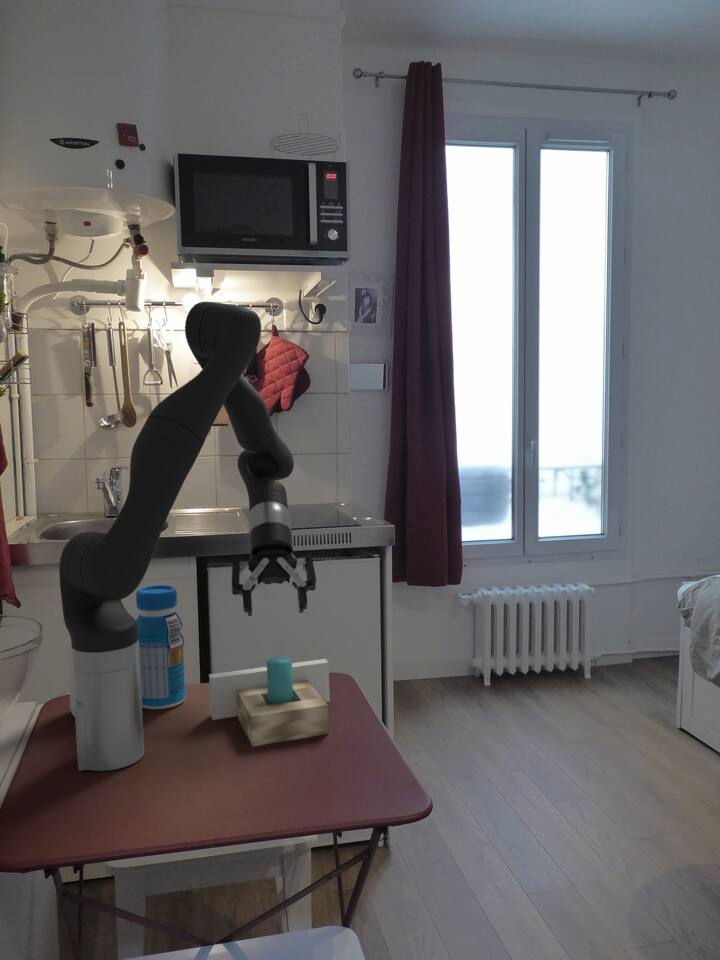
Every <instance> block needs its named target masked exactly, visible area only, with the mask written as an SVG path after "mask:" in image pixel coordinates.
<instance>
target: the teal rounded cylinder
mask: <svg viewBox="0 0 720 960" xmlns="http://www.w3.org/2000/svg"><path fill="white" fill-rule="evenodd" d="M292 663H293V659H292V657H289V656H282V655H281V656H273V657H269V658H268V659H266V667H267V685H268V706H269V705H276V704H283V703H289V702H293V676H292Z"/></svg>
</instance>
